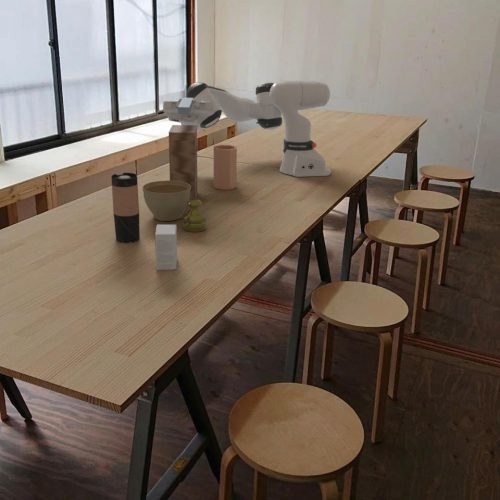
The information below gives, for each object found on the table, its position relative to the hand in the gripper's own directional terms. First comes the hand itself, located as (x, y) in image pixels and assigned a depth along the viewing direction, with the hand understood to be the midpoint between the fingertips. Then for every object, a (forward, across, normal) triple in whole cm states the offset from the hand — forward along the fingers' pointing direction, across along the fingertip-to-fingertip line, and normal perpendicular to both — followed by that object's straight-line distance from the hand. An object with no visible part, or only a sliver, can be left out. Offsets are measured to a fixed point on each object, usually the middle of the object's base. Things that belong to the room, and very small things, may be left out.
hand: (187, 100), depth 230 cm
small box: (+56, +1, -71) cm, 90 cm away
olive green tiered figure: (+31, -5, -56) cm, 64 cm away
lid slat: (+7, 0, -6) cm, 9 cm away
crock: (-11, -15, -31) cm, 37 cm away
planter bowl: (+21, +4, -50) cm, 55 cm away
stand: (+2, 0, -39) cm, 39 cm away
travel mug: (+40, +15, -61) cm, 74 cm away
